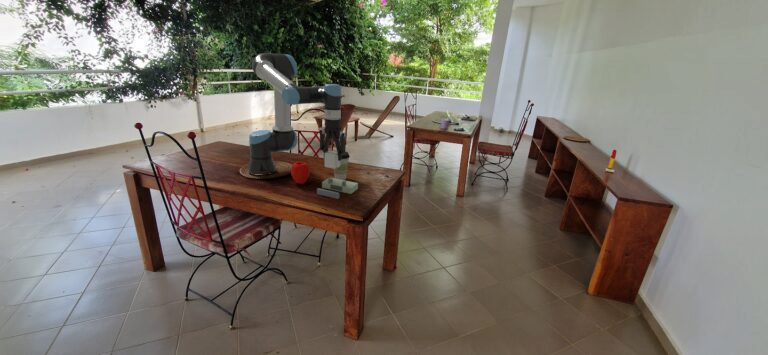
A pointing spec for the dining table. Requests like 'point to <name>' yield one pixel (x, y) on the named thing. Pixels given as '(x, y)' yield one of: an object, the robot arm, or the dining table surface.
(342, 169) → the coffee cup
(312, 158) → the dining table surface
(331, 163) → the gray rectangular prism
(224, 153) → the dining table surface
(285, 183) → the dining table surface
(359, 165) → the dining table surface
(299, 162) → the apple
